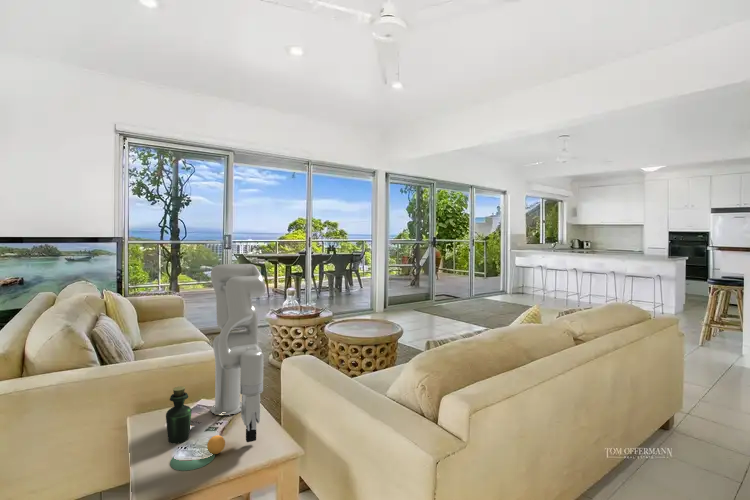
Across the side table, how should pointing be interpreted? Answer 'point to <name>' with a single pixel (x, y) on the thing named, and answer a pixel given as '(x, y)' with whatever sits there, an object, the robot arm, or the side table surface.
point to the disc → (190, 463)
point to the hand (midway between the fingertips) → (251, 440)
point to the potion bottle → (178, 417)
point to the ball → (216, 444)
